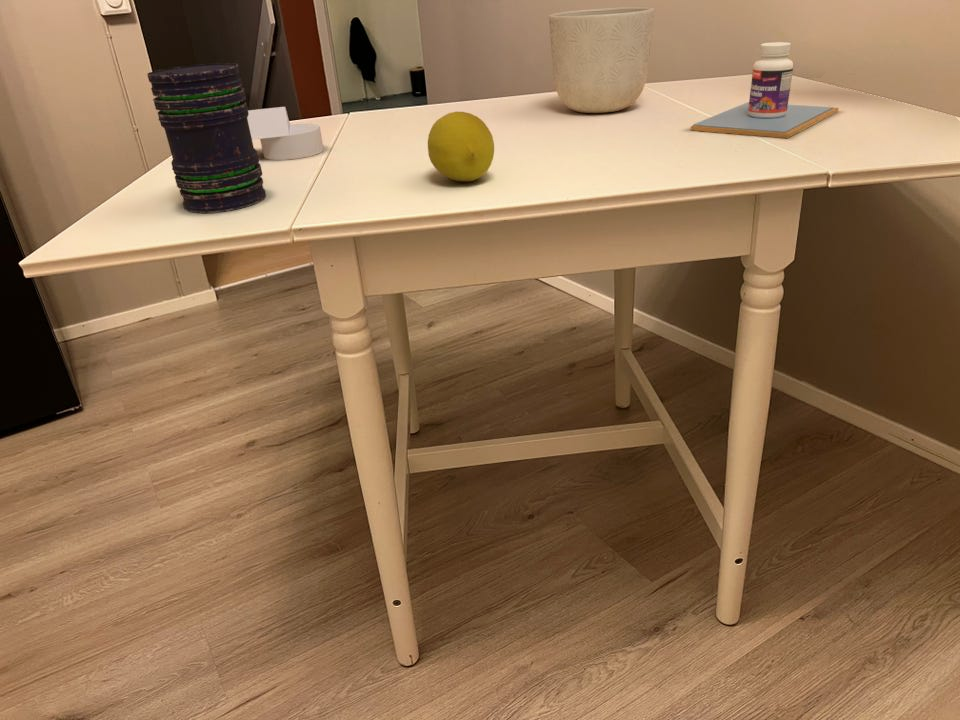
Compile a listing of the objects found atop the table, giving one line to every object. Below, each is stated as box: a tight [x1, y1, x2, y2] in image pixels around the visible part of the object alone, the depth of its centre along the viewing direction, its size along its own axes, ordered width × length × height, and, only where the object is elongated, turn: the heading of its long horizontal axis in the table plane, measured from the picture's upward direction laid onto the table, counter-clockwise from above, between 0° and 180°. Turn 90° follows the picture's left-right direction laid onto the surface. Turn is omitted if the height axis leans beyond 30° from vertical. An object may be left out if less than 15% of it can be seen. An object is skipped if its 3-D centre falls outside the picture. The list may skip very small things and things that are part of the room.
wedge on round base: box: [247, 106, 325, 161], centre depth 106 cm, size 9×7×13 cm
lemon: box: [427, 111, 495, 182], centre depth 85 cm, size 11×8×8 cm
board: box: [690, 101, 839, 139], centre depth 105 cm, size 14×20×1 cm
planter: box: [548, 6, 655, 114], centre depth 119 cm, size 17×17×15 cm
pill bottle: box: [748, 41, 794, 118], centre depth 102 cm, size 5×5×10 cm
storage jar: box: [146, 62, 267, 214], centre depth 82 cm, size 10×10×15 cm
